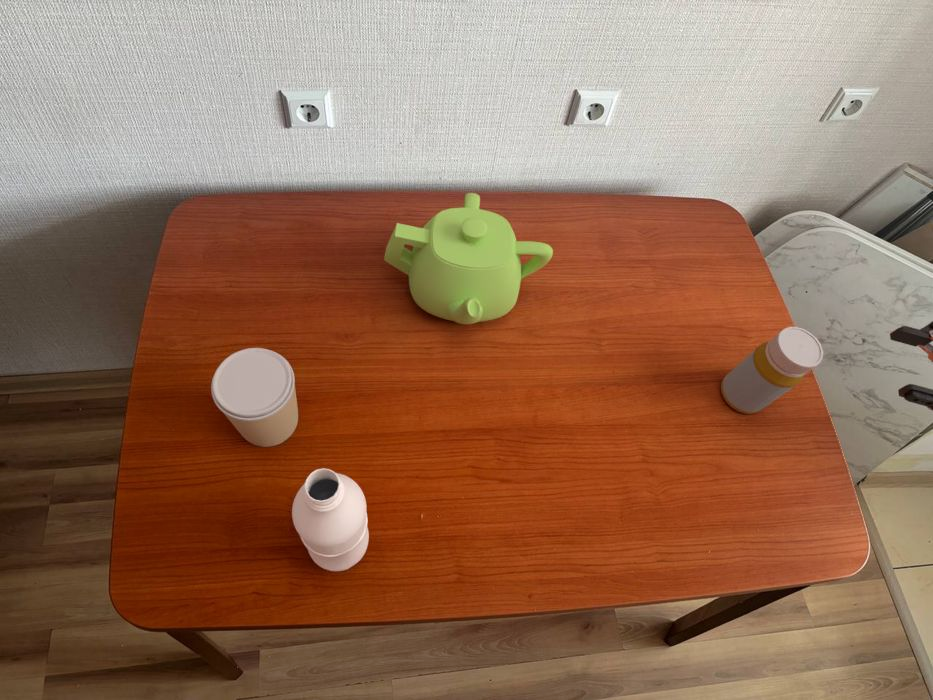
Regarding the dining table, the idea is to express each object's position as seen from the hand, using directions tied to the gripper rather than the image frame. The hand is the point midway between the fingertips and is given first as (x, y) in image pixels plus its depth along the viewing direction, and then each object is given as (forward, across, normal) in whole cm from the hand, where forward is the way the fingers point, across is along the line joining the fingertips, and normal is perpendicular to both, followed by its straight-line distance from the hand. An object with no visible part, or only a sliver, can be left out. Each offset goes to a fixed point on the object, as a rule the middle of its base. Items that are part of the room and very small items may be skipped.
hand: (898, 360), depth 75 cm
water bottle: (+62, -37, -17) cm, 74 cm away
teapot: (+57, +4, -17) cm, 59 cm away
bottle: (+11, 0, -18) cm, 21 cm away
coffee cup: (+76, -24, -17) cm, 82 cm away
